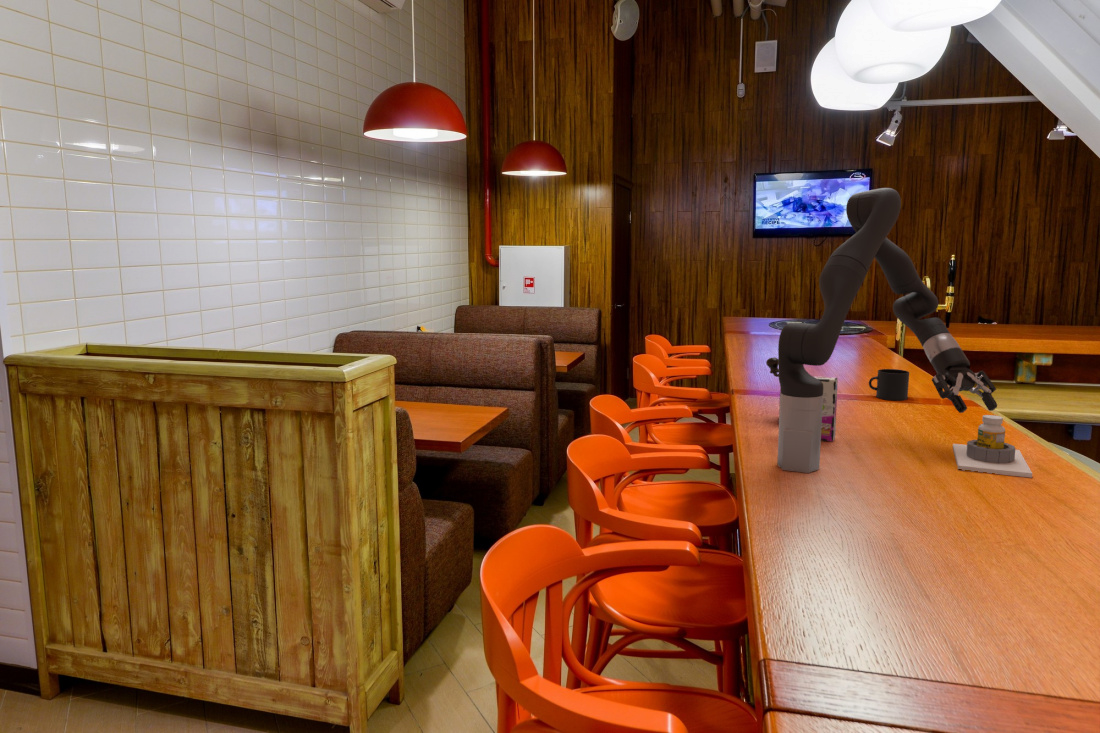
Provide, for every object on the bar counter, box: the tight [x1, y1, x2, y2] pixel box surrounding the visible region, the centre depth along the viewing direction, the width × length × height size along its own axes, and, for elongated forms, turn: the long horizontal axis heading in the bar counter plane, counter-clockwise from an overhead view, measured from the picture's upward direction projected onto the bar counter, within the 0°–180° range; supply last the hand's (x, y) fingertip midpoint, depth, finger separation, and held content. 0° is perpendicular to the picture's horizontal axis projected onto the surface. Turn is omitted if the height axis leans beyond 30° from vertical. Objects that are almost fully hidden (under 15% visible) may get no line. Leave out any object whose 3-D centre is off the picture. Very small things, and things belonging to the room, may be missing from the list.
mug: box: [868, 368, 910, 402], centre depth 238 cm, size 9×12×9 cm
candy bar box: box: [812, 375, 839, 443], centre depth 189 cm, size 11×5×16 cm, turn 62°
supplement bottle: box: [976, 414, 1006, 449], centre depth 167 cm, size 5×5×10 cm
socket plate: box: [952, 439, 1033, 478], centre depth 167 cm, size 20×14×4 cm
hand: (978, 410), depth 170 cm, fingers open, 8 cm apart
